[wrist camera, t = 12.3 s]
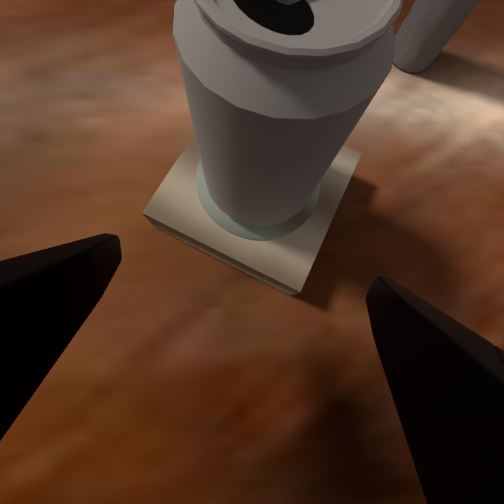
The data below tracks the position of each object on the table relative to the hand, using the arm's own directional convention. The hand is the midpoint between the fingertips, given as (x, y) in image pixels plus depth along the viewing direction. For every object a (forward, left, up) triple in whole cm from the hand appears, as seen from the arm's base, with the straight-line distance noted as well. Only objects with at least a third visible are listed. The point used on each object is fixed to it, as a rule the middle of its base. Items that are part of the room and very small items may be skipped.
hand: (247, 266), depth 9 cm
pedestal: (+8, +2, -11) cm, 14 cm away
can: (+7, +2, -8) cm, 11 cm away
